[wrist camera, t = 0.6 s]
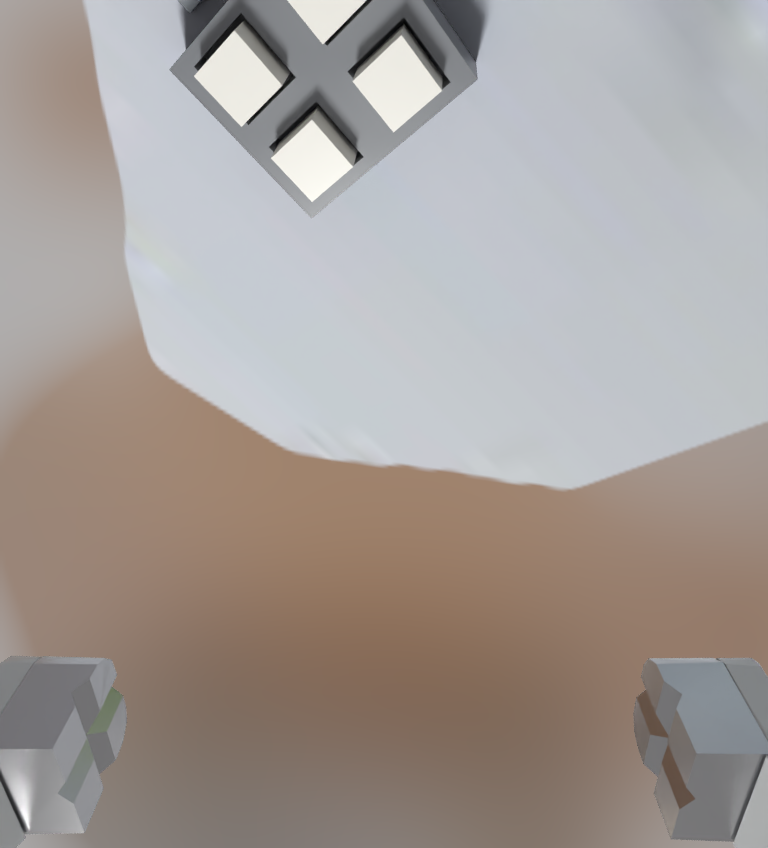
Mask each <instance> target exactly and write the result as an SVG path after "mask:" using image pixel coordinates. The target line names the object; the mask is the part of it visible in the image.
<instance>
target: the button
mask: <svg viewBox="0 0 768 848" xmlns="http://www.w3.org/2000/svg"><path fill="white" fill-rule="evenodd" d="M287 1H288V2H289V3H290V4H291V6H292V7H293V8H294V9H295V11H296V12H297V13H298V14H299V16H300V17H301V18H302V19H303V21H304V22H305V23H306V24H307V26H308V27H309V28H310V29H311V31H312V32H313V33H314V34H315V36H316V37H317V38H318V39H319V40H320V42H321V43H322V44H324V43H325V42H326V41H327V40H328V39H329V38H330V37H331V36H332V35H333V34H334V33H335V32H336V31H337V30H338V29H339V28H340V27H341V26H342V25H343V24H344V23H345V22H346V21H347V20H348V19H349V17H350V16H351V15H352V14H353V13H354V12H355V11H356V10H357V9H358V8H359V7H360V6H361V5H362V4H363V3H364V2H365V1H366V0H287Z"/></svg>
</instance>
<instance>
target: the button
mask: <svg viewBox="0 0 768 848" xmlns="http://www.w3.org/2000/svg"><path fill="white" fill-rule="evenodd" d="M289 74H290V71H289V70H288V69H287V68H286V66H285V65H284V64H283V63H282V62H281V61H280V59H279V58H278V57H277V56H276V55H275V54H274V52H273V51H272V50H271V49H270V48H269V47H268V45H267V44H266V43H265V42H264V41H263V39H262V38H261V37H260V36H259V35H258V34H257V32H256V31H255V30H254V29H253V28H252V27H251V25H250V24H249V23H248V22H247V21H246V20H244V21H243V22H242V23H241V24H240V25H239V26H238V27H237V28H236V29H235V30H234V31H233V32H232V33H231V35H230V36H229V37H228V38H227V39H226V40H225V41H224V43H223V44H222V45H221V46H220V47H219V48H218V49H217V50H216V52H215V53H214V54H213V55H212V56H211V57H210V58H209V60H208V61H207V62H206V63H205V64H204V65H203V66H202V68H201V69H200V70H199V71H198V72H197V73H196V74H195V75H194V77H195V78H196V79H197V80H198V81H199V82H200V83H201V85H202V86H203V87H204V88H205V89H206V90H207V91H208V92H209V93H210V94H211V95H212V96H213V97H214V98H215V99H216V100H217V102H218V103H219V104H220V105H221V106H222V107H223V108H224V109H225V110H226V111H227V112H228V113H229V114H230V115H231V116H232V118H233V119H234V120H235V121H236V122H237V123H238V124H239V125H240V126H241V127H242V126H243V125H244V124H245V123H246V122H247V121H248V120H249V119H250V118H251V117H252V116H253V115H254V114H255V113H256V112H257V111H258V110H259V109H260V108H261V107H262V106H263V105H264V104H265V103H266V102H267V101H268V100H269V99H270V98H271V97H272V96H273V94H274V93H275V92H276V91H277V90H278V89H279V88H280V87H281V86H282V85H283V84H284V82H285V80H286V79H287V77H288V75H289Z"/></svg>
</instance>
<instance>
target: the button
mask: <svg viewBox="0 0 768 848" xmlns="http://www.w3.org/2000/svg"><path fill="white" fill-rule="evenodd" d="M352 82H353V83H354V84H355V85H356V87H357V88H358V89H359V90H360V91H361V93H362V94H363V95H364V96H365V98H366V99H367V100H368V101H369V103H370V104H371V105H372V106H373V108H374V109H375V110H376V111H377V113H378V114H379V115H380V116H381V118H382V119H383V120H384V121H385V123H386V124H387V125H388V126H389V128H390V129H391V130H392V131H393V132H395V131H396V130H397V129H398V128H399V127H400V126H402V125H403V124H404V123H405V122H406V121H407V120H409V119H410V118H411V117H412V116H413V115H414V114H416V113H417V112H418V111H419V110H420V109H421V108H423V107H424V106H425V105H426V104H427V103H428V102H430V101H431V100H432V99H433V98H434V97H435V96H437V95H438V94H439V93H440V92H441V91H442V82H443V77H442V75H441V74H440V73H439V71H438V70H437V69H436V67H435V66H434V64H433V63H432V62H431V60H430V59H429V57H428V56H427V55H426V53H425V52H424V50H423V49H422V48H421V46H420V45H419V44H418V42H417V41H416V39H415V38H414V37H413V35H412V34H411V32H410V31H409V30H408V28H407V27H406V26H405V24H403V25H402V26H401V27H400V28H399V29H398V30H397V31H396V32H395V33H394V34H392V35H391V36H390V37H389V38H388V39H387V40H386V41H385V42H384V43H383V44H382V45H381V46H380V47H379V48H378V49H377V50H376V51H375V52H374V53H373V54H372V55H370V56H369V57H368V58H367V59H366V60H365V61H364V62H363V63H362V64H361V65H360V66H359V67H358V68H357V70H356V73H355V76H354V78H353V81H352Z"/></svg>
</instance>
